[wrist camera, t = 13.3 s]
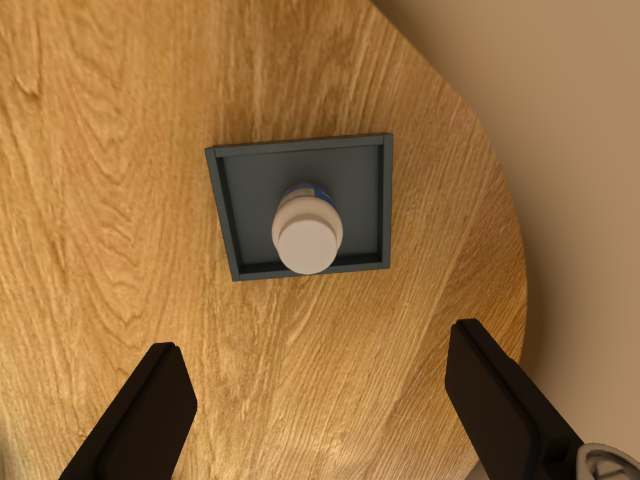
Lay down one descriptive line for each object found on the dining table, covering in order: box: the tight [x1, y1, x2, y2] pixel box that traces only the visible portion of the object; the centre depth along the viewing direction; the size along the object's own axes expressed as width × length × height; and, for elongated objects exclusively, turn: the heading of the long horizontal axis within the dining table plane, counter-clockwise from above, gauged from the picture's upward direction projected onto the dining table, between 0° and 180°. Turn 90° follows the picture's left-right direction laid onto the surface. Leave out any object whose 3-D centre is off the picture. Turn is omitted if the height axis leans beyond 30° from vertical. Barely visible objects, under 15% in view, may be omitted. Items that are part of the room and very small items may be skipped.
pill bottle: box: [272, 182, 343, 274], centre depth 24 cm, size 6×5×10 cm
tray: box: [205, 133, 393, 282], centre depth 28 cm, size 16×13×3 cm
